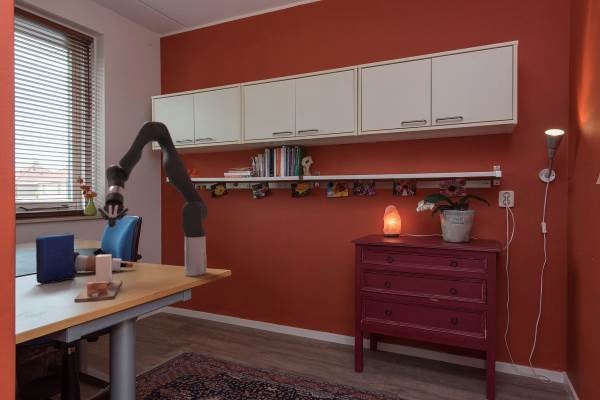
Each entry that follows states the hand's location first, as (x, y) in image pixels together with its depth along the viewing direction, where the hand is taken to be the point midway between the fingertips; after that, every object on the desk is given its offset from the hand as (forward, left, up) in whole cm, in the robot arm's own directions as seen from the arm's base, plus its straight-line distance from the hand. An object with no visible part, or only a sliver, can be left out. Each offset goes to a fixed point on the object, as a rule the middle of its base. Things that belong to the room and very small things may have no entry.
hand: (111, 225), depth 165 cm
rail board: (+1, +24, -23) cm, 33 cm away
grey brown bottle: (+10, -17, -23) cm, 31 cm away
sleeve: (+1, +15, -22) cm, 26 cm away
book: (+21, -1, -23) cm, 31 cm away
